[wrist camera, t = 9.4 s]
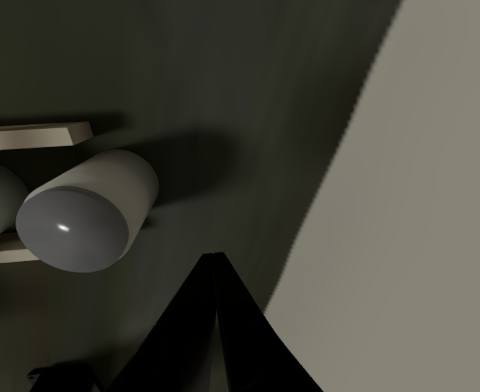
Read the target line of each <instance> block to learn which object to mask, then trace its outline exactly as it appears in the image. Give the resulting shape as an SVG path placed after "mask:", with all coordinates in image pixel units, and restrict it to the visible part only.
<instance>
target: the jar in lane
mask: <svg viewBox="0 0 480 392" xmlns="http://www.w3.org/2000/svg"><path fill="white" fill-rule="evenodd" d="M29 194H30V193H29V191H28V189H27V187H26V186H25V184H24V183H23V182H22V181H21V179H20V178H19V177H18V176H16V175H15V174H14V173H13V172H11V171H10V170H9V169H7V168H5V167H4V166H2V165H0V233H2V232H3V231H5V230H6V229H8V228H9V227H11V226H12V225H14V224H15V223H16V216H17V213H18V211H19V209H20V207H21V206H22V205H23V203H24V201H25V199H26V198H27V197H28V195H29Z"/></svg>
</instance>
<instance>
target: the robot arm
mask: <svg viewBox="0 0 480 392" xmlns="http://www.w3.org/2000/svg"><path fill="white" fill-rule="evenodd" d="M216 309H217V316H218V323H219V330H220V336H221V343H222V350H223V356H224V363H225V369H226V376H227V383H228V389H229V392H323V391H322V389H321V388H320V387H319V386H318V385H317V383H316V382H315V381H314V380H313V379H312V377H311V376H310V375H309V374H308V373H307V371H306V370H305V369H304V368H303V366H302V365H301V364H300V363H299V362H298V361H297V359H296V358H295V357H294V356H293V354H291V352H290V351H289V350H288V348H287V347H286V346H285V345H284V343H283V342H282V341H281V339H280V338H279V337H278V336H277V334H276V333H275V331H274V330H273V328H272V327H271V325H270V324H269V322H268V321H267V319H266V318H265V316H264V315H263V313H262V312H261V310H260V309H259V307H258V305H257V304H256V302H255V301H254V299H253V297H252V296H251V294H250V293H249V291H248V290H247V288H246V286H245V285H244V283H243V282H242V280H241V279H240V277H239V275H238V274H237V272H236V271H235V269H234V268H233V266H232V264H231V263H230V261H229V260H228V258H227V257H226V255H225V253H224V252H217V253H214V254H213V253H207V254H203V255H202V256H201V257H200V259H199V260H198V262H197V263H196V265H195V266H194V268H193V269H192V271H191V272H190V274H189V275H188V277H187V278H186V279H185V281H184V282H183V284H182V285H181V287H180V288H179V290H178V291H177V293H176V294H175V296H174V297H173V299H172V300H171V302H170V303H169V305H168V306H167V308H166V309H165V311H164V312H163V313H162V315H161V316H160V318H159V319H158V321H157V322H156V325H154V327H153V328H152V330H151V331H150V333H149V334H148V335H147V337H146V338H145V340H144V341H143V342H142V344H141V345H140V347H139V348H138V349H137V351H136V352H135V353H134V355H133V356H132V357H131V359H130V360H129V361H128V362H127V364H126V365H125V366H124V367H123V369H122V370H121V371H120V372H119V374H118V375H117V376H116V377H115V379H114V380H113V381H112V382H111V383H110V385H109V386H108V387H107V388H106V390H105V391H103V389H102V388H101V386H100V384H99V383H98V381H97V380H96V378H95V376H94V375H93V373H92V371H91V370H90V368H89V367H88V366H87V365H79V366H71V367H63V368H55V369H47V370H38V371H31V372H29V374H28V375H27V377H26V378H27V379H28V380H29V381H30V382H31V384H32V385H33V387H32V388H31V390H30V391H29V392H209V387H210V377H211V366H212V355H213V344H214V333H215V322H216Z"/></svg>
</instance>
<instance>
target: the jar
mask: <svg viewBox="0 0 480 392" xmlns="http://www.w3.org/2000/svg"><path fill="white" fill-rule="evenodd" d="M158 193H159V181H158V178H157V175H156V173H155V171H154V169H153V168H152V167H151V165H150V164H149V163H148V162H147V161H146V160H144V159H143V158H142V157H140V156H139V155H137V154H135V153H132V152H130V151H126V150H120V149H111V150H106V151H103V152H100V153H98V154H97V155H95V156H93V157H91V158H90V159H88V160H86V161H84V162H83V163H81V164H79V165H77V166H76V167H74V168H72V169H70V170H69V171H67V172H65V173H63V174H62V175H60V176H58V177H56V178H55V179H53V180H51V181H49V182H48V183H46V184H44V185H42V186H41V187H39V188H37V189H36V190H34V191H33V192H31V193H30V194H29V195H28V197H27V198H26V199H25V201H24V203H23V205H22V206H21V207H20V209H19V211H18V213H17V216H16V229H17V232H18V235H19V237H20V239H21V241H22V242H23V244H24V245H25V246H26V248H27V249H28V250H29V251H30V252H31V253H32V254H33V255H35V256H36V257H37V258H39V259H40V260H42V261H43V262H45V263H47V264H49V265H51V266H54V267H56V268H59V269H62V270H66V271H71V272H83V273H84V272H95V271H99V270H102V269H105V268H107V267H109V266H111V265H112V264H114V263H115V262H116V261H117V260H119V259H120V258H122V257H123V256H124V255H125V254H126V253H127V251H128V250H129V248H130V246H131V245H132V243H133V241H134V239H135V237H136V235H137V233H138V232H139V230H140V228H141V226H142V224H143V222H144V220H145V219H146V217H147V215H148V213H149V211H150V209H151V207H152V206H153V204H154V202H155V200H156V198H157V196H158Z"/></svg>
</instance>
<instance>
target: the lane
mask: <svg viewBox="0 0 480 392" xmlns="http://www.w3.org/2000/svg"><path fill="white" fill-rule="evenodd" d="M92 137H94V136H93V133H92V130H91V127H90V124H89V121H88V122H70V123H52V124H34V125H16V126H0V150H4V149H20V148H37V147H53V146H69V145H75V144H78V143H80V142H83V141H85V140H87V139H90V138H92ZM28 260H39V258H37V257H36V256H35V255H33V254H32V253H31V252H30V251H29V250H28V249H27V248H26V246H25V245H24V244H23V242H22V241H21V239H20V237H19V235H18V232H15V233H3V234H0V263H6V262H17V261H28Z"/></svg>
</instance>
